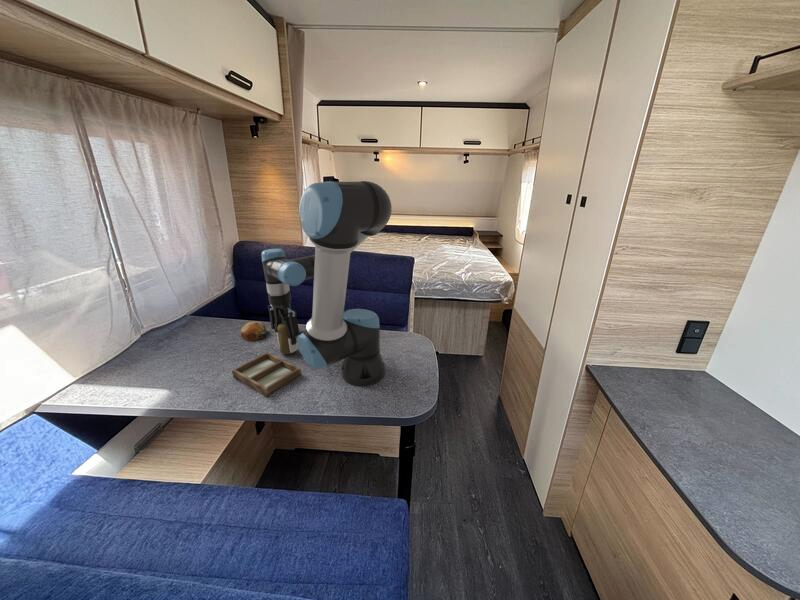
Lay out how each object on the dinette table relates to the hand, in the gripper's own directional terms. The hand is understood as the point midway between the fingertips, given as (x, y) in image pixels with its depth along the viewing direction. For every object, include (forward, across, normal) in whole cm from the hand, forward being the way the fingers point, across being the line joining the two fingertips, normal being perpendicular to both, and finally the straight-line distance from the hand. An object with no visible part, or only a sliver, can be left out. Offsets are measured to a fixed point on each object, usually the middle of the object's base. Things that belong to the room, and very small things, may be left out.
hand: (288, 348), depth 121 cm
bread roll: (+2, +24, -1) cm, 24 cm away
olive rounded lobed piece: (+1, 0, 0) cm, 1 cm away
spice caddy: (+2, -6, +14) cm, 15 cm away
